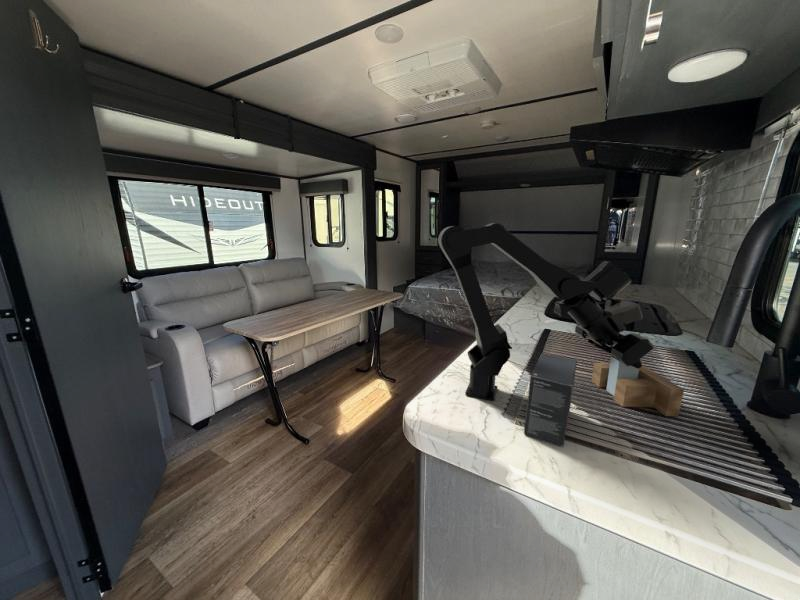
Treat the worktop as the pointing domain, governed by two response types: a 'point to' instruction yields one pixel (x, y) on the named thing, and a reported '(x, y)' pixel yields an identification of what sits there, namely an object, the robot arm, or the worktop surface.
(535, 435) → the small box
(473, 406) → the worktop surface
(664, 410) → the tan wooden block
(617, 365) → the post
